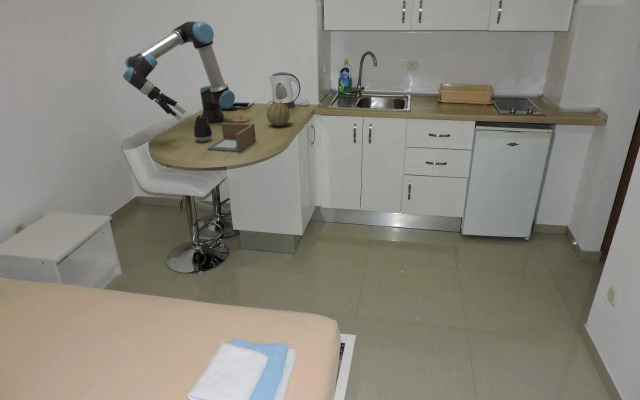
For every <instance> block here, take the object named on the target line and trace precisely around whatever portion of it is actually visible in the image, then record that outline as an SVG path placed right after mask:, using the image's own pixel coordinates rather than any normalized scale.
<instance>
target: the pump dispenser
mask: <svg viewBox="0 0 640 400" xmlns="http://www.w3.org/2000/svg"><path fill="white" fill-rule="evenodd" d="M207 119H208V118H205V117H204V116H203V115H202V114H200V115H197V116H196V118H195V120H194V125H193V136H194V138H195V139H196V140H197V141H198V142H199V143H200V142H201V143H206V142H208V141H210V140H211V139H212V136H213V131H212V128H211V125H210V123H208V121H207Z"/></svg>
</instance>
